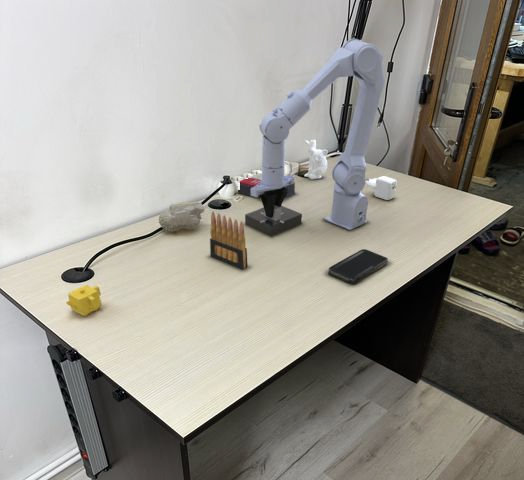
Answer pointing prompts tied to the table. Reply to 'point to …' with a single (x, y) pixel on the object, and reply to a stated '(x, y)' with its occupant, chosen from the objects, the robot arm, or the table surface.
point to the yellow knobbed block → (85, 299)
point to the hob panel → (273, 221)
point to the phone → (357, 266)
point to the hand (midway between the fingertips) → (272, 215)
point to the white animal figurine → (316, 161)
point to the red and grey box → (254, 180)
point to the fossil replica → (181, 216)
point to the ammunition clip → (228, 242)
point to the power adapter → (383, 187)
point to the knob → (275, 213)
